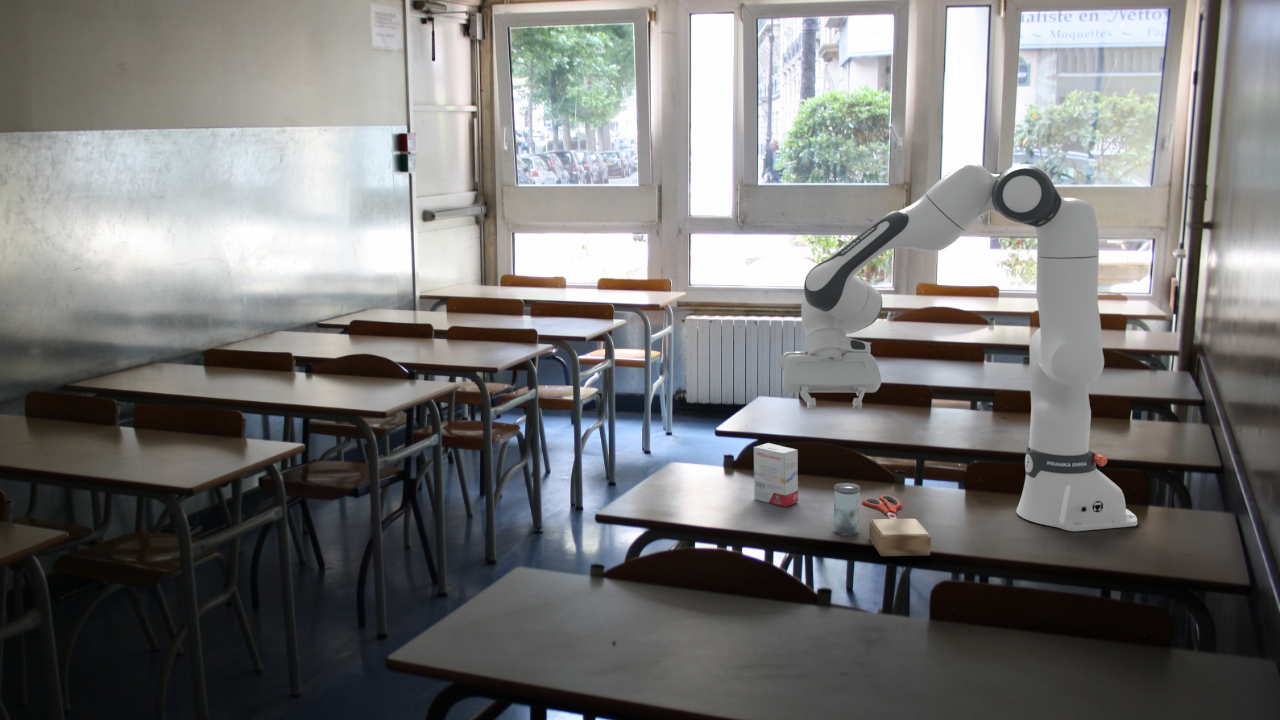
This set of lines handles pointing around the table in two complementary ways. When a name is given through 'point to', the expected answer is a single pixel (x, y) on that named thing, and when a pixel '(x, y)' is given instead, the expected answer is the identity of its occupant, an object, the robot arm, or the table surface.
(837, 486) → the translucent jar
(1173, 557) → the table surface
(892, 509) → the scissors
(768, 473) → the ink box
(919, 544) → the beige box
